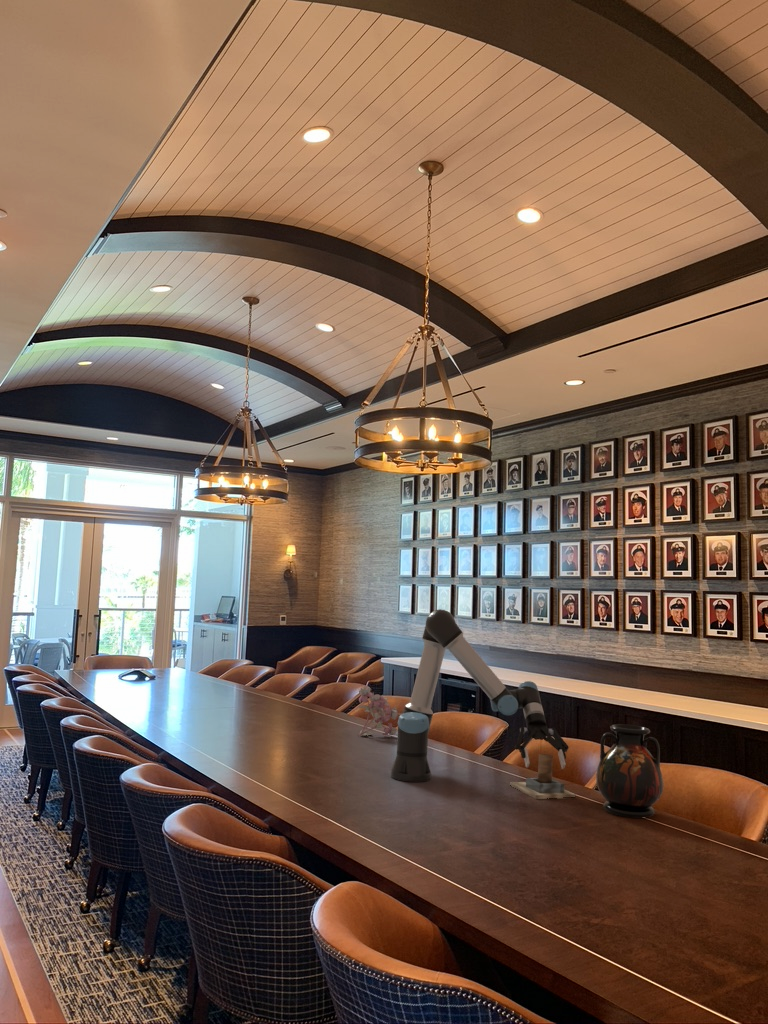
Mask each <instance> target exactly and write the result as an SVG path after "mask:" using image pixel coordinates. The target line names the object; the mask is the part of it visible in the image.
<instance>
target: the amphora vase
mask: <svg viewBox="0 0 768 1024" xmlns="http://www.w3.org/2000/svg"><path fill="white" fill-rule="evenodd" d="M609 727H610V730H611V731H613V732H614V733H615V734H616V735H614V734H613V733H611V732H605V733H603V735H602V736H601V739H600V747H599V748H600V751H599V752H600V753H599V762H598V766H597V770H596V774H595V775H596V777H595V779H596V786H597V789H598V791H599V794H600V795H601V796H602V798H603V799H604V800H606V801H605V802H604V803H603V804H602V805H603V808H604V810H605V811H606V812H608V813H610V814H612V815H615V816H618V815H619V817H623V816H624V818H629V817H633V818H632V819H643V818H642V817H648V818H650V817H649V816H651V817H653V816H654V815H655V813H656V812H655V809H654V808H655V807H653V806H654V805H656V803H657V802H658V801H659V799H660V798H661V797H662V794H663V791H664V780H663V774H662V771H661V759H660V758H661V757H660V756H661V751H660V750H661V749H660V743H659V742H658V739H657V738H655V737H652V736H649V737H647V738H645V736H646V735H648V734H650V733H651V730H650V729H649V727H648V728H647V727H645V726H641V725H633V724H619V723H618V724H612V725H610V726H609ZM607 737H611V739H612V740H613V744H612V746H611V747H610V748H609V749H607V751H605V741H606V738H607ZM644 738H645V739H644ZM648 742H652V743H654V745H655V758H654V756H653V755H652V754H651V752H650V751H649V750H648V749H647V745H648ZM652 815H653V816H652Z"/></svg>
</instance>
